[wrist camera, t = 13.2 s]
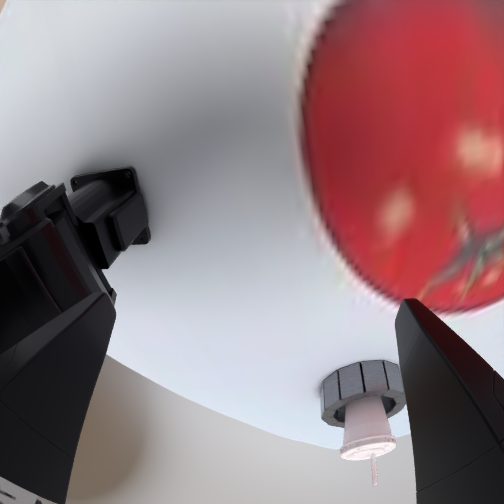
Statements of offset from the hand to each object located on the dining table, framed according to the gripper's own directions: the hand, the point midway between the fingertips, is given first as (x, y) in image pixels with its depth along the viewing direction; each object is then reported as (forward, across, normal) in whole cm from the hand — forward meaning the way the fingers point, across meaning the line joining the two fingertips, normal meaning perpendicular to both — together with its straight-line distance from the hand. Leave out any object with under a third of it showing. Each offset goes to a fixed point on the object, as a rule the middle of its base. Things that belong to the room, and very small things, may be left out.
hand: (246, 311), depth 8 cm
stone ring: (+13, -11, +26) cm, 31 cm away
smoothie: (+13, -11, +26) cm, 31 cm away
